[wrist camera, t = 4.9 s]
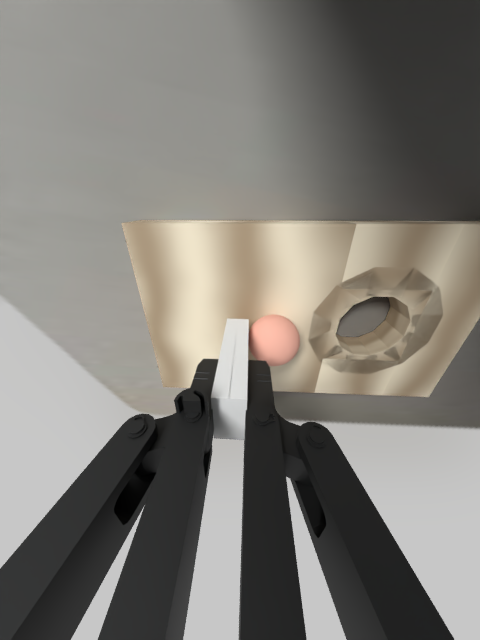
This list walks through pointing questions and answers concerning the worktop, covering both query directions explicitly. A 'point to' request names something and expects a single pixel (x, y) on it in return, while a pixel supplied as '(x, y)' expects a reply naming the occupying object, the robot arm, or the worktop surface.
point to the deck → (311, 296)
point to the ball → (274, 340)
